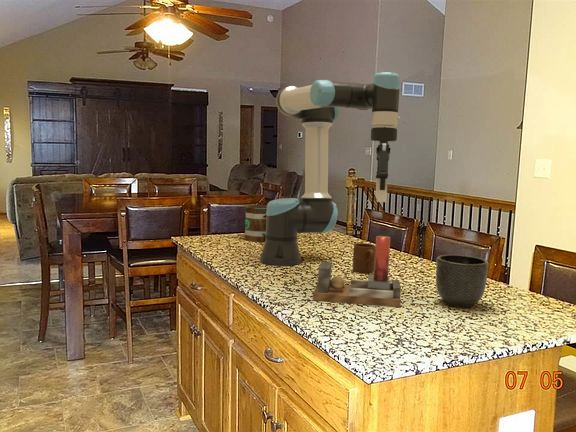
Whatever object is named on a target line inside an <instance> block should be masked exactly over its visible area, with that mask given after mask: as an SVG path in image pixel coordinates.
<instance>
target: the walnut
mask: <svg viewBox="0 0 576 432" xmlns="http://www.w3.org/2000/svg"><path fill="white" fill-rule="evenodd" d="M330 285H331V287H332V288H333V289H341V288H342V287H343V286H344V285H345V280H344V278H343V277H341V276H340V275H335V276H333V277H331V281H330Z"/></svg>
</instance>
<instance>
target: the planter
mask: <svg viewBox="0 0 576 432" xmlns="http://www.w3.org/2000/svg"><path fill="white" fill-rule="evenodd" d="M435 266H436V268H435V285H436V291H437V294H438V296H439V297H440V298H441V299H442V300H443V302H444V303H445V305H448V306H452V307H456V308H463V309H464V308H472V307H474V305H476V303H478V302H480V300H481V299H482V297H483V296H484V294H485V289H486V284H487V278H488V272H489V261H488V260H487V259H484V258H482V257H481V258H480V257H477V256H472V255H465V254H441V255H438V256H437V257H436V263H435Z"/></svg>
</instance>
